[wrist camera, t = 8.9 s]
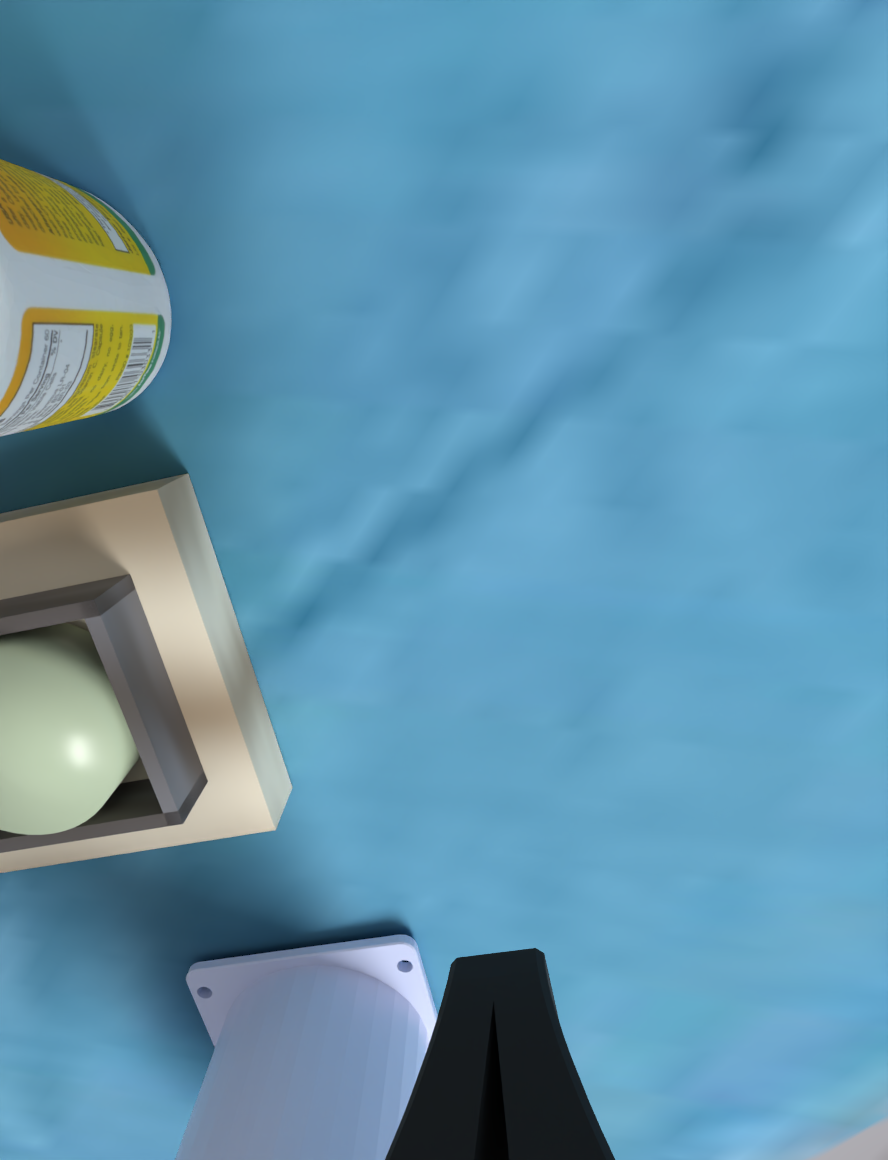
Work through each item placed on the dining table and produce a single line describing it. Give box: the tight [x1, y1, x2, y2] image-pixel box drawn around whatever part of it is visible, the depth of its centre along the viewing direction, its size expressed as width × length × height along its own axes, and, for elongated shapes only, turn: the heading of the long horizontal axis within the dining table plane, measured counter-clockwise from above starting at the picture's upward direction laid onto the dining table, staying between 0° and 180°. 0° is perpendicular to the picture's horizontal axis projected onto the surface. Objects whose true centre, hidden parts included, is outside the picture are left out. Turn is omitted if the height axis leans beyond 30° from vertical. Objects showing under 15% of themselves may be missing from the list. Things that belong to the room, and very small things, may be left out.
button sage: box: [0, 623, 140, 835], centre depth 18 cm, size 5×5×2 cm
